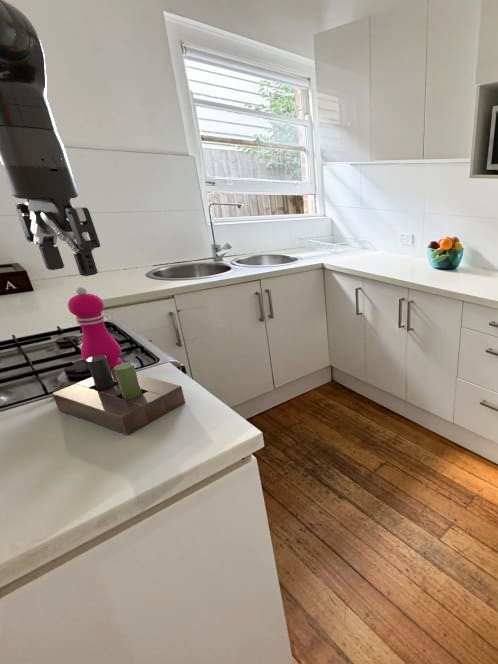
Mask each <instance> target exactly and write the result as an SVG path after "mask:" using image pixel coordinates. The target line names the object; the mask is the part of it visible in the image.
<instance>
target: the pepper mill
mask: <svg viewBox="0 0 498 664" xmlns="http://www.w3.org/2000/svg"><path fill="white" fill-rule="evenodd" d="M75 292H76V294H74V295H73V296H72V297H71V298H69V299H68V301H67V308H68V311H69V312H70V313H71V314H72V315H74V316H75V321H76V324H77V325H79V326H80V328H81V332H82V343H81V347H80V354H81V358H82V360H83V361H84V362H86V363H87V361H86V360H87V359H88V358H90V357H93V356H98V355H104V356H106V358H107V361H108V364H109V367H110V369H113V368H114V367H115V366H117V365H119V364H122V363H123V359H122V358H120V356H121V355H122V348H121V346H120V344H119V343H118V341H117V340H116V339H115V338H114V336H112V335H111V334H110V332H109V331H108V330H107V328H106V325H105V320H106V317H105V314H104V313H103V310H104V308H105V304H104V301H103V300H102V298H101V297H99V296H98V295H97V294H94V293H88V291H87V289H86V288H85V287H83V286H80V287H77V288H76V290H75Z"/></svg>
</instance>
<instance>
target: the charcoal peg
mask: <svg viewBox="0 0 498 664" xmlns="http://www.w3.org/2000/svg"><path fill="white" fill-rule="evenodd" d="M86 361H87V362H86ZM86 361H85V362H86V364H87V367H88V370H89V372H90V376H91V377H92V378H93V381H94V384H95V386H96V389H97V391H99V392H103V391H105V390H107V389H109V388H111V387H114V386H116V385H115V382H114V379H113V376H112V373H111V370H110V367H109V364H108V361H107V358H106V356H104V355H98V356H93V357H90V358H88V359H87V360H86Z"/></svg>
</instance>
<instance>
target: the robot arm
mask: <svg viewBox="0 0 498 664" xmlns="http://www.w3.org/2000/svg"><path fill="white" fill-rule="evenodd" d="M46 72H47V71H46V60H45V53H44V48H43V45H42V42H41V39H40V37H39V34H38V32H37V30H36V28H35V26H34V25H33V24H32V22H31V21H30V19H29V18H28V17H27V16H26V15H25V14H24V13H23V12H22V11H21V10H20V9H19V8H18V7H16V6H14V5H13V4H11V3H10V2H7V1H5V0H0V166H1V168H2V171H3V173H4V177H5V179H6V182H7V184H8V188H9V190H10V193H11V195H12V197H14V198H16V199H19V200H21V199H22V200H26V202H17V203H15V204H14V207H15V210H16V213H17V217H18V220H19V222H20V225H21V228H22V231H23V234H24V237H25V239H26V241H27V242H28V243H33V244H34V246H35V247H36V248H39V251H40V254H41V257H42V260H43V263H44V265H45V268H46V269H47V270H49V271H57V270H61V269H62V270H63V269H64V268H65V264H64V262H63V258H62V255H61V252H60V250H59V246H58V245H57V242H58V239H59V240H60V241H62V242H65V243H66V244H67V245H68V247H69V248H70V249H71V251H72V252H73V253H72V254H73V258H74V261H75V263H76V267H77V270H78V273H79V275H80V276H82V277H89V276H95V275H97V274H98V268H97V265H96V262H95V259H94V255H93V252H92V251H94V249H97V248H100V247H101V243H100V240H99V237H98V234H97V231H96V227H95V225H94V224H95V223H94V222H93V218H92V216H91V213H90V210H89V208H88V207H86V206H85V207H81V206H79V207H75V206H73V203H72V202H71V199H76V198H78V197H79V191H78V188H77V185H76V182H75V179H74V174H73V172H72V168H71V165H70V161H69V158H68V156H67V152H66V148H65V147H64V144H63V142H62V140H61V137H60V135H59V133H58V131H57V126H56V123H55V120H54V116H53V114H52V110H51V107H50V105H49V102H48V98H47V73H46ZM87 235H88V236H87ZM88 237H89V238H88Z"/></svg>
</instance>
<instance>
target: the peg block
mask: <svg viewBox="0 0 498 664" xmlns="http://www.w3.org/2000/svg"><path fill="white" fill-rule="evenodd" d="M110 370H111V373H112V376H113V379H114V382H115V385H116V386H114V387H111V388H109V389H107V390H105V391H103V392H99V391H97V389H96V386H95V384H94V381H93V378H92V376H91V377H89V378H86V379H84V380H81V381H79V382H76V383H73V384H72V385H69V386H66V387H64V388H62V389H59V390H57V391H54V392H52V393H51V395H52V397H53V400H54V402H55V404H56V407H57V409H58V411H59V412H62V413H65V414H67V415H70V416H73V417H75V418H78V419H81V420H82V421H87V422H88V423H91V424H95V425H97V426H100V427H103V428H106V429H108V430H111V431H114V432H117V433H119V434H122V435H125V436H130V435H131V434H133V433H135V432H137V431H138V430H140V429H142V428H144V427H146V426H147V425H149V424H151V423H153V422H155V421H156V420H158V419H160V418H161V417H164V416H165V415H166V414H168V413H170V412H172V411H173V410H175V409H176V408H179V407H180V406H182V405H184V404H185V403H186V400H185V396H184V392H183V388H182V385H179V384H175V383H173V382H168V381H166V380H161V379H158V378H154V377H151V376H147V375H143V374H140V373H137V372H136V374H137V378H138V381H139V384H140V388H141V391H142V395H140V396H138V397H136V398H134V399H132V400H130V401H127V400H124V398H123V395H122V392H121V389H120V386H119V383H118V380H117V377H116V374H115V371H114V368H111V369H110Z"/></svg>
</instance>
